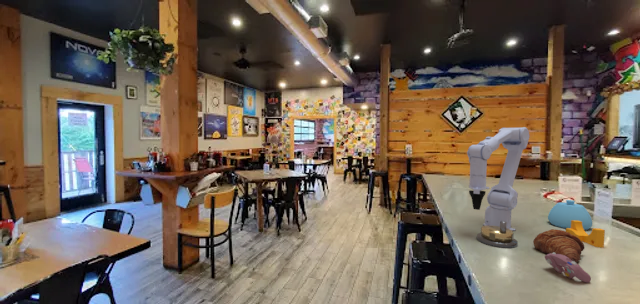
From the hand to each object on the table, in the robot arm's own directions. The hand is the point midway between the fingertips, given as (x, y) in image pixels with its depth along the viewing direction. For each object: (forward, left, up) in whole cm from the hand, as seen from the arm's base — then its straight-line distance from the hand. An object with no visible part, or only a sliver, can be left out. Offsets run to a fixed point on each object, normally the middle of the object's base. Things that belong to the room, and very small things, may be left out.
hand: (476, 209), depth 114 cm
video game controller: (+34, -1, -11) cm, 36 cm away
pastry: (+20, +14, -11) cm, 27 cm away
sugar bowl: (0, +51, -11) cm, 52 cm away
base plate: (+8, +2, -10) cm, 13 cm away
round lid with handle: (+8, +2, -9) cm, 12 cm away
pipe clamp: (+16, +35, -11) cm, 40 cm away
